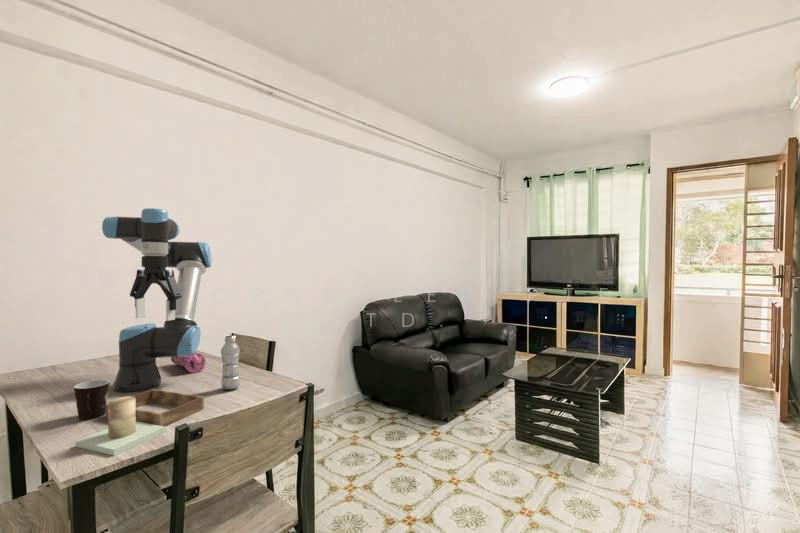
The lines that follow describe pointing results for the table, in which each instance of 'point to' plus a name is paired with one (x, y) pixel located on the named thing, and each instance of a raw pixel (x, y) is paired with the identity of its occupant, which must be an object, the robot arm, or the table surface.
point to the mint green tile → (119, 439)
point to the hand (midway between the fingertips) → (155, 319)
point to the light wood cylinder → (121, 417)
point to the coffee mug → (91, 399)
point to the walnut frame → (183, 401)
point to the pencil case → (191, 362)
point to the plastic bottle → (230, 363)
